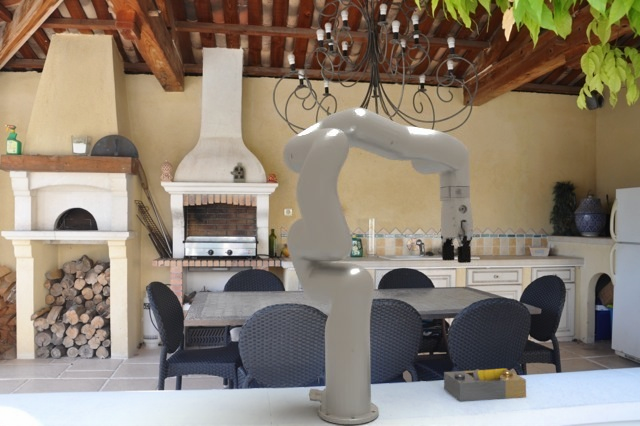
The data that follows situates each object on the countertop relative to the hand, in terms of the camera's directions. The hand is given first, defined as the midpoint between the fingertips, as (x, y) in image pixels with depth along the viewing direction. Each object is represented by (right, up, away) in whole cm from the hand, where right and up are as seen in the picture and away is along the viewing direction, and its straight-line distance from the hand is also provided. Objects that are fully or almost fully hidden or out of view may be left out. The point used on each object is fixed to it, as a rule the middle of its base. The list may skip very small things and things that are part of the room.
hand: (456, 261), depth 129 cm
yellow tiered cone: (+3, -30, -11) cm, 32 cm away
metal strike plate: (+4, -30, -11) cm, 32 cm away
